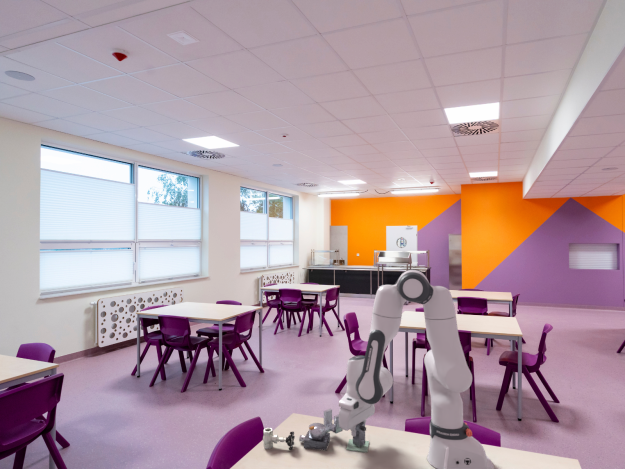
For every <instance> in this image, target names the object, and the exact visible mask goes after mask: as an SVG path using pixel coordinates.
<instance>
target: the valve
mask: <svg viewBox="0 0 625 469" xmlns="http://www.w3.org/2000/svg"><path fill="white" fill-rule="evenodd" d="M295 437H296V436H295V431H289V435H288V436H287V437H282V436H280V437H279V435H278V434H274V430H273V428H272V427H265V428H264V429H263V436H262V441H263V448H264V449H266V450H271V449H272V448H273V447H274V444H278V443H286V445H287V446H288V451H292V450H293V449H294V445H295Z"/></svg>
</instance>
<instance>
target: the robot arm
mask: <svg viewBox="0 0 625 469" xmlns="http://www.w3.org/2000/svg"><path fill="white" fill-rule="evenodd" d="M407 301H408V302H411V303H416V304H420V305H422V307H423V314H424V316H423V317H424V323H425V332H426V338H427V339H426V340H427V341H428V343H429V346H430V349H429V350H428V351H427V352H426V353H425V355H424V359H423V363H424V366H425V370H426V376H427V383H428V389H429V393H430V394H429V395H430V411H431V412H430V413H431V416H430V420H429V435H430V443H429V449H428V453H427V456H426V460H427V461H428V463H429V464H430V465H431V466H432V467H434V468H435V469H495V467H494V464H493V461H492V460H491V458H490V457H489V456H487V454H486V450H485V448H484V446H483V444H481V442H480V441H479V440H477V439H476V438H475V437H474V436H473V431H472V430H471V429H470V426H469V425H468V423H467V422H465V421H464V402H463V399H462V396H461V393H463V392H466V391H468V390H469V388H470V387H471V386H472V382H473V374H472V372H471V370H470V368H469V366H468V362H467V361H466V357H465V353H464V350H463V346H462V344H461V341H460V340H461V339H460V335H459V330H458V322H457V321H458V320H457V315H456V309H455V308H456V307H455V303H454V299H453V296H452V294H451V291H450V290H449V289H448V288H447V287H445V286H442V285H432V284H431V283H430V282H429V280H428V278H427V276H426V274H425V273H424V272H423V271H421V270H419V269H415V268H409V269H407V270H406V271H405V270H404V271H403V272H402V273H401V275H400V276H399V277H398V279H397V280H396V281H395V282H394V284H385V285H384V284H383V285H381V286H379V287H378V288H377V290H376V293H375V297H374V301H373V305H372V311H371V321H370V328H369V334H368V339H367V344H366V350H365V355H355V356H352V357H351V358H349V359H348V360H347V364H346V376H345V378H346V383H347V386H346V392H345V394H344V395H343V396H342V397H341V399H339V401H338V407H340V408H339V410H338V415H339V426H340V428H341V429H343V430H344V431H349V430H350V431H351V436H352V437H353V436H354V437H355V436H356V435H357V431H356V430H355V428H356V425H358V424H359V423H361V422H363V423H365V424H367V420H368V418H370V417H372V416H374V414H375V413H376V412H375V410H376V408H375V404H377V403H378V402H380V401H381V399H382V398H383V396H384V395H385V394H386V393H388V391H389V390H391V388H392V387H393V384H394V377H393V375H392V374H393V373H391V371H390V370H389V369H388V368H386V367H385V366H382V364H383V359H384V354H385V352H386V349H387V348H388V346H389V344H390V343H391V342H392V340H394V338H395V337H396V336H397V335H398V334H399V330H400V326H401V324H402V316H403V309H404V305H405V303H406V302H407Z"/></svg>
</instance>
